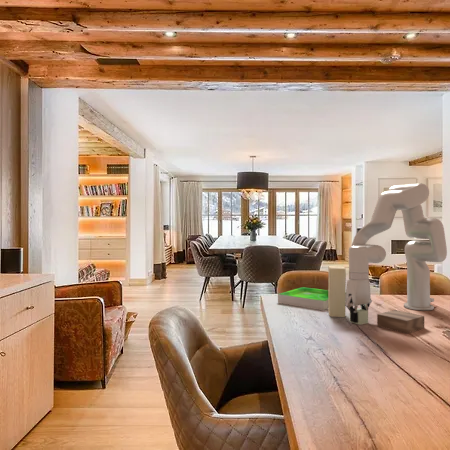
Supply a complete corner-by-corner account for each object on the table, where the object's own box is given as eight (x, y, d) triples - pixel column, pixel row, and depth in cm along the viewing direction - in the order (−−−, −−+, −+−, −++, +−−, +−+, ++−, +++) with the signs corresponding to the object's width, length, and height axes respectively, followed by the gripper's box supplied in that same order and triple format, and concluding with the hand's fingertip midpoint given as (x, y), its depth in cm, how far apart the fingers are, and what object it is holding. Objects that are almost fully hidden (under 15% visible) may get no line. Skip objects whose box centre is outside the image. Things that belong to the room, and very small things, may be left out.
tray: (277, 303, 186) (277, 294, 186) (302, 296, 205) (302, 287, 205) (323, 311, 170) (323, 300, 170) (346, 302, 189) (346, 292, 189)
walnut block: (394, 322, 151) (394, 309, 151) (424, 329, 141) (424, 316, 141) (377, 326, 144) (377, 314, 144) (406, 334, 134) (406, 320, 134)
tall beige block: (347, 317, 157) (347, 268, 157) (329, 316, 158) (329, 268, 158) (345, 312, 165) (345, 266, 165) (328, 312, 166) (328, 265, 166)
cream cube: (358, 320, 153) (358, 308, 153) (368, 322, 148) (368, 310, 148) (349, 321, 150) (349, 309, 150) (359, 324, 146) (359, 312, 146)
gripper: (364, 273, 157) (365, 316, 157) (336, 276, 148) (337, 322, 148) (380, 275, 150) (380, 320, 150) (351, 279, 142) (352, 326, 142)
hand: (358, 320), depth 149 cm, fingers closed on cream cube, 5 cm apart
